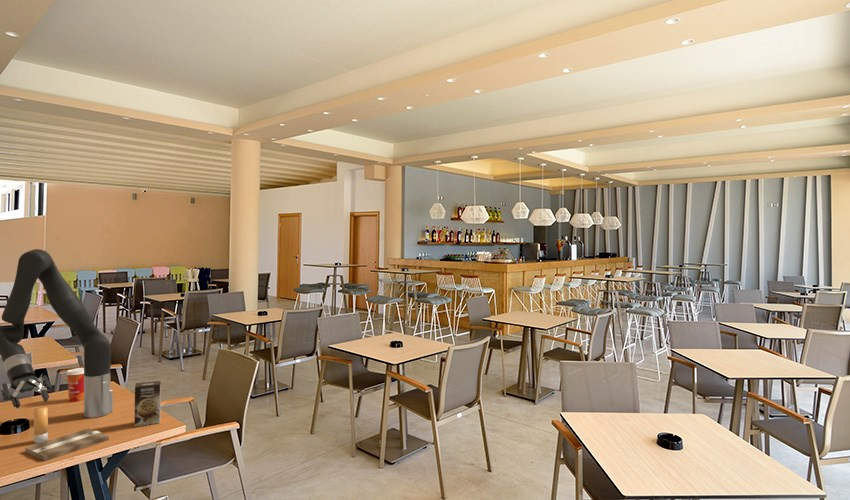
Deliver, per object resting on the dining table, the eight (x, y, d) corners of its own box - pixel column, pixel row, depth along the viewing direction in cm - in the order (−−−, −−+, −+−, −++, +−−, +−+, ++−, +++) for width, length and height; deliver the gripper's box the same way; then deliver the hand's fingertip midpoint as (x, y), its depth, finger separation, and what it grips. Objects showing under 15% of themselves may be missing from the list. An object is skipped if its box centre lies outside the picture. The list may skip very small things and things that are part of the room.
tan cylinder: (44, 438, 177) (44, 406, 177) (50, 440, 175) (49, 408, 175) (31, 442, 173) (31, 409, 173) (37, 444, 171) (36, 411, 171)
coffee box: (134, 427, 188) (133, 386, 187) (135, 421, 193) (135, 382, 193) (160, 423, 192) (160, 383, 192) (160, 418, 198) (160, 379, 197)
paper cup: (62, 401, 218) (62, 371, 217) (80, 396, 225) (79, 367, 225) (73, 403, 215) (73, 372, 214) (90, 398, 222) (90, 368, 222)
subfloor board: (88, 432, 183) (88, 427, 183) (108, 439, 176) (108, 434, 176) (25, 451, 165) (25, 446, 165) (44, 461, 158) (44, 455, 158)
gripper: (-2, 367, 175) (12, 403, 169) (44, 359, 187) (58, 392, 182) (-8, 379, 177) (5, 415, 172) (37, 370, 190) (51, 404, 184)
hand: (32, 403), depth 177 cm, fingers open, 8 cm apart
